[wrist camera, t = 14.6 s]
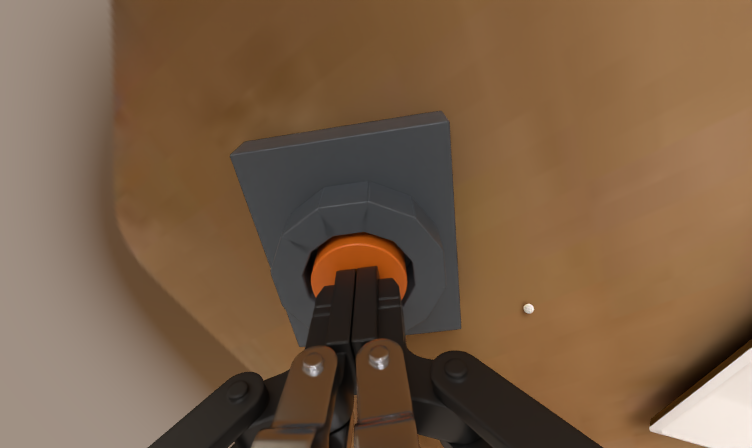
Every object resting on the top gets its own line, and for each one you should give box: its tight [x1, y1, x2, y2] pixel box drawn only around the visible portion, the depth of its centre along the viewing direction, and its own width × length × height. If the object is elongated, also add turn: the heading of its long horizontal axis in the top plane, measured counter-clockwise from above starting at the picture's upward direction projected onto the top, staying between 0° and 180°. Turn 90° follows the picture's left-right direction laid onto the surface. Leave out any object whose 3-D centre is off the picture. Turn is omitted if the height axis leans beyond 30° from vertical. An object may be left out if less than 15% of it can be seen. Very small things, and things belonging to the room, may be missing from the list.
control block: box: [230, 111, 461, 347], centre depth 15 cm, size 10×8×4 cm
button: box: [311, 232, 407, 300], centre depth 14 cm, size 4×4×2 cm
